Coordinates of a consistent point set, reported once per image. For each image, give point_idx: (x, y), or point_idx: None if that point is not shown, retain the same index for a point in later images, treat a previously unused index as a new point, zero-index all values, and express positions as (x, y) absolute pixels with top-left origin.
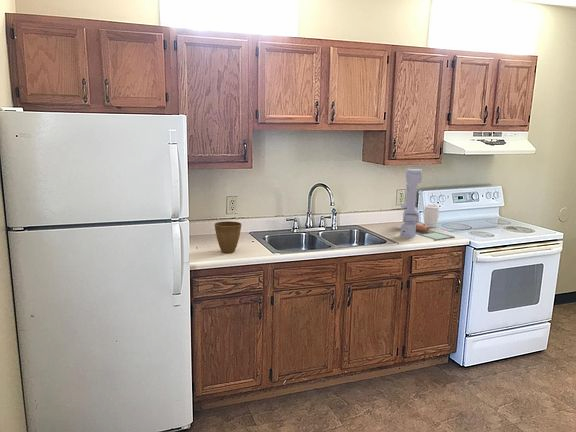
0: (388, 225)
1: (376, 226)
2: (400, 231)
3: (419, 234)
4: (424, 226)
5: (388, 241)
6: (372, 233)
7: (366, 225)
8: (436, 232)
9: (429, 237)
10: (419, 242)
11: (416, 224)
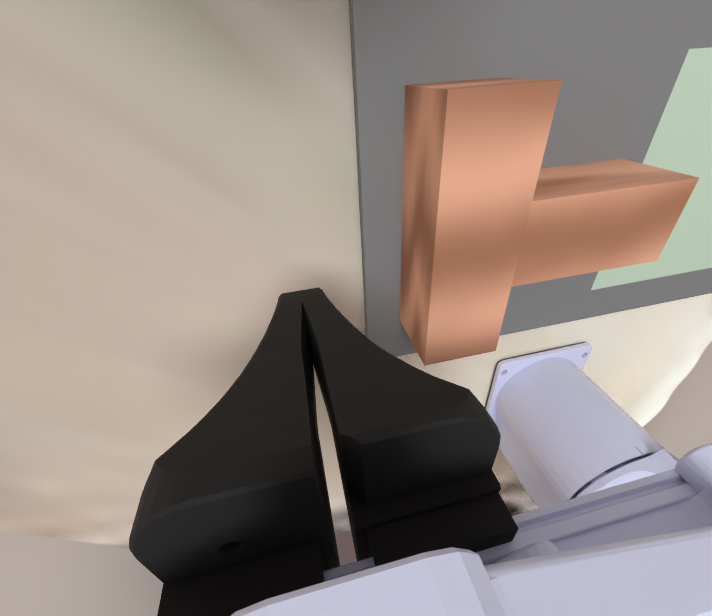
0: (36, 367)
1: (105, 475)
2: (509, 464)
3: (572, 304)
4: (624, 226)
5: (515, 497)
6: (342, 524)
7: (52, 525)
8: (698, 20)
9: (679, 287)
10: (645, 392)
11: (480, 257)
